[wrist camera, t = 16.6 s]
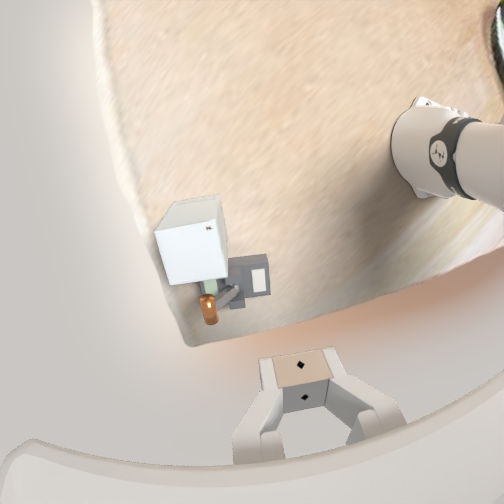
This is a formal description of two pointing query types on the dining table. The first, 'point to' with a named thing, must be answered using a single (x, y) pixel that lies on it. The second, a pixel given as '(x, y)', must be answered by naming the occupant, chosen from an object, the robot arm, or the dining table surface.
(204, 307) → the breaker lever
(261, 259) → the breaker housing
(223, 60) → the dining table surface
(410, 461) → the robot arm
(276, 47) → the dining table surface
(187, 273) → the supplement box
